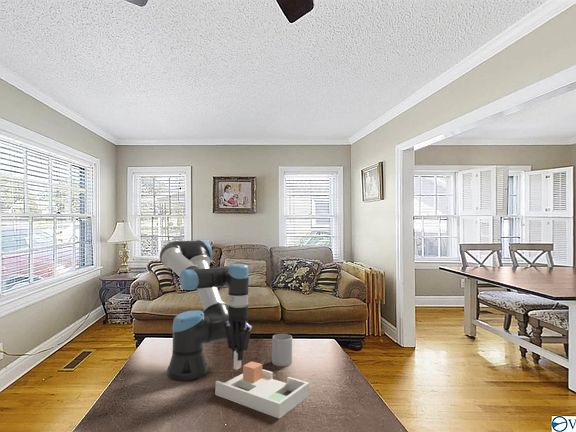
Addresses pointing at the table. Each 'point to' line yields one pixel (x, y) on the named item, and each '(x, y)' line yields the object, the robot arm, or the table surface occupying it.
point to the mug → (282, 350)
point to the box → (264, 393)
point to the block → (252, 371)
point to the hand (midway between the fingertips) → (237, 368)
